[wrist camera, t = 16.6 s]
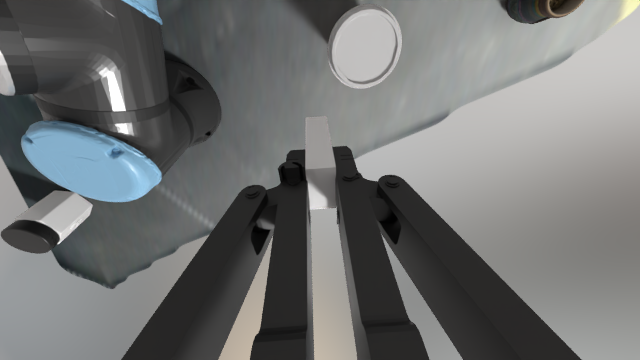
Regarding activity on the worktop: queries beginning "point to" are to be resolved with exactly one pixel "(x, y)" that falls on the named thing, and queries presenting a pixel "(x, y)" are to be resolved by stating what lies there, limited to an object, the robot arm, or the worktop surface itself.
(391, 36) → the disposable coffee cup
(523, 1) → the mate gourd
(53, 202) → the jar
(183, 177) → the worktop surface
